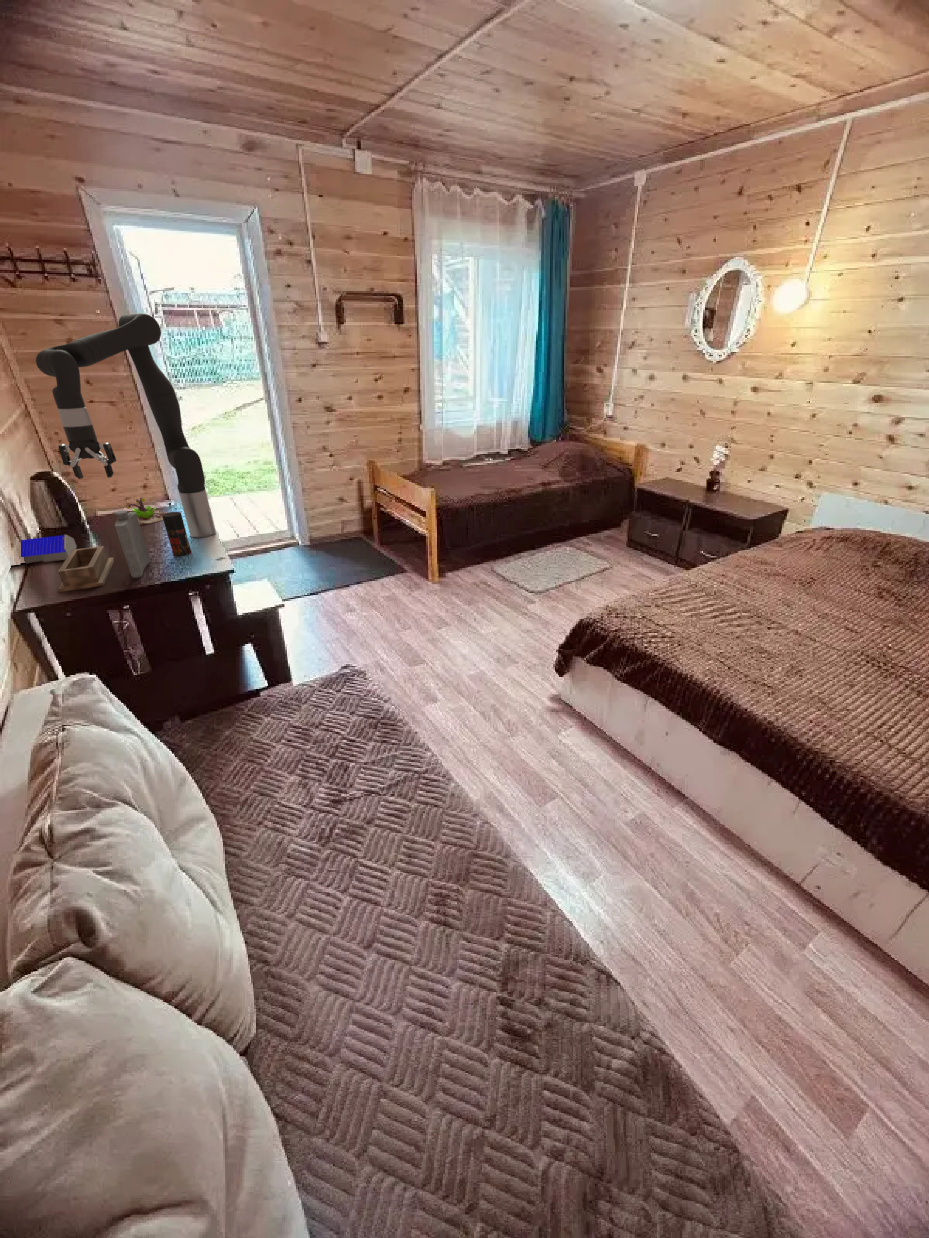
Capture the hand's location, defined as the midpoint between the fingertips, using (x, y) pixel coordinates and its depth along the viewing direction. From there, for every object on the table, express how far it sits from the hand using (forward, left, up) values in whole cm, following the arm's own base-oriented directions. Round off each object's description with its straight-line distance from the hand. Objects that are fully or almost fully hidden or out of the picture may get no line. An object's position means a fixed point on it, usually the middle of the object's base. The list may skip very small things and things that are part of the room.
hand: (95, 477), depth 165 cm
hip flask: (-5, +5, -30) cm, 31 cm away
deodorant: (-18, -4, -30) cm, 35 cm away
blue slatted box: (+30, -22, -30) cm, 48 cm away
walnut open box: (+10, +4, -30) cm, 32 cm away
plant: (-2, -54, -31) cm, 62 cm away
